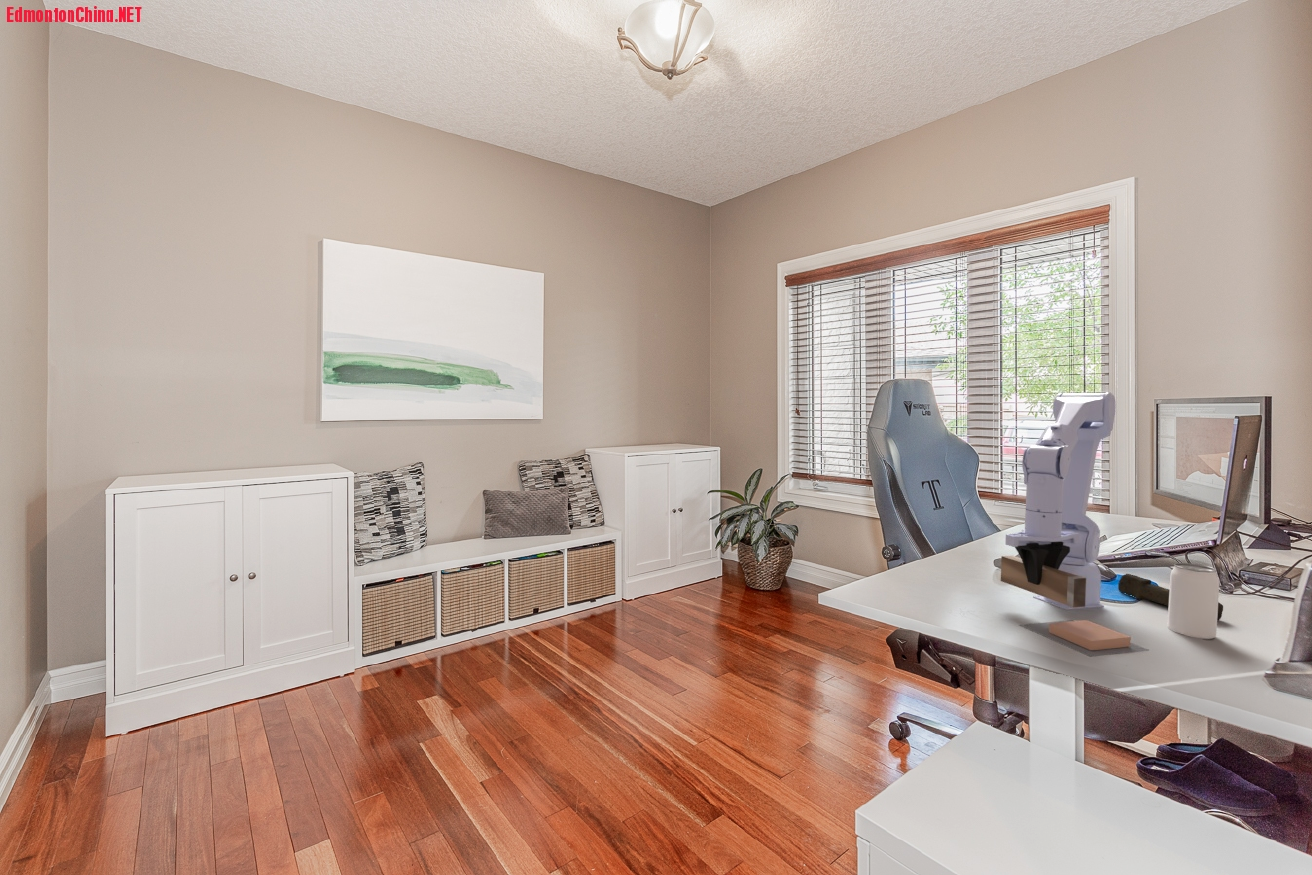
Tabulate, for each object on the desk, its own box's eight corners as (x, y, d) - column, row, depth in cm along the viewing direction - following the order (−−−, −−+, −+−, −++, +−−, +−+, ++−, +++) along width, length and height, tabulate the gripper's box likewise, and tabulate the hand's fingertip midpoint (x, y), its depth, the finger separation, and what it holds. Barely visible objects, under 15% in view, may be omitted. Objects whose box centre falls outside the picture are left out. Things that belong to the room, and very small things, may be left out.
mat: (1072, 622, 112) (1072, 619, 112) (1149, 652, 98) (1149, 649, 98) (1018, 626, 109) (1018, 624, 109) (1089, 658, 96) (1090, 656, 96)
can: (1220, 643, 102) (1224, 574, 102) (1171, 635, 106) (1174, 568, 105) (1210, 631, 108) (1214, 565, 107) (1164, 624, 111) (1167, 560, 111)
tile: (1086, 619, 107) (1130, 636, 99) (1085, 629, 107) (1130, 647, 99) (1049, 623, 105) (1091, 640, 97) (1048, 633, 105) (1091, 651, 97)
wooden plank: (1011, 580, 120) (1012, 555, 120) (1085, 606, 104) (1086, 577, 104) (1000, 581, 119) (1001, 555, 119) (1072, 607, 104) (1074, 578, 103)
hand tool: (1224, 622, 113) (1226, 598, 113) (1207, 623, 112) (1209, 599, 112) (1129, 591, 132) (1130, 571, 131) (1113, 592, 131) (1114, 571, 131)
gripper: (1056, 505, 116) (1053, 574, 117) (993, 507, 113) (991, 578, 114) (1090, 511, 109) (1087, 585, 110) (1024, 514, 106) (1021, 589, 107)
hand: (1040, 582), depth 112 cm, fingers closed on wooden plank, 2 cm apart
